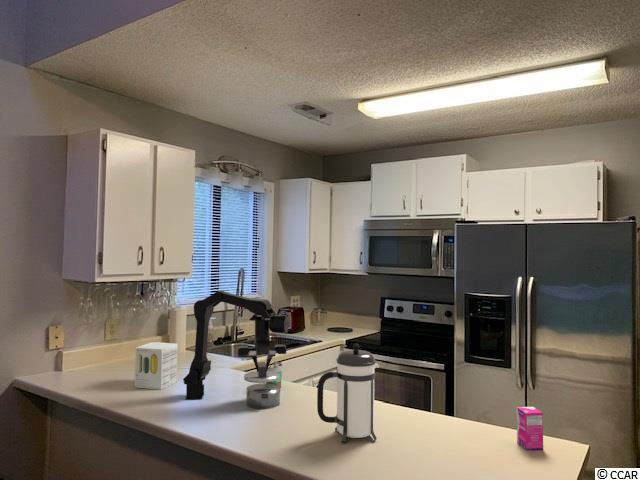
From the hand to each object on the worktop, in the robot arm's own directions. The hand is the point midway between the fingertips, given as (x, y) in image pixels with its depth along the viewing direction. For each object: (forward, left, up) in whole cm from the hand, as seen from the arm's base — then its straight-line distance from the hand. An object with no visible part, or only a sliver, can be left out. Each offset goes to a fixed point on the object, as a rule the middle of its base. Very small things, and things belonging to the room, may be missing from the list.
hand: (262, 371), depth 185 cm
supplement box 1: (-44, +33, -13) cm, 57 cm away
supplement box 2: (+80, -54, -13) cm, 97 cm away
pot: (+1, 0, -12) cm, 12 cm away
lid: (0, 0, -2) cm, 2 cm away
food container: (+8, +20, -13) cm, 25 cm away
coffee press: (+27, -38, -13) cm, 48 cm away
